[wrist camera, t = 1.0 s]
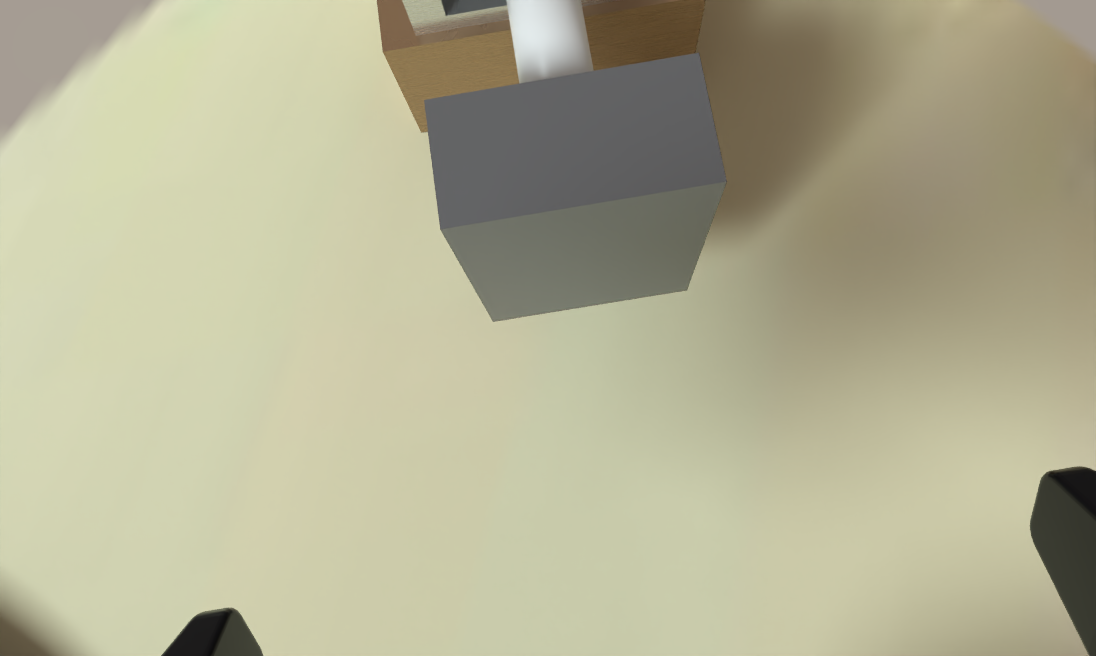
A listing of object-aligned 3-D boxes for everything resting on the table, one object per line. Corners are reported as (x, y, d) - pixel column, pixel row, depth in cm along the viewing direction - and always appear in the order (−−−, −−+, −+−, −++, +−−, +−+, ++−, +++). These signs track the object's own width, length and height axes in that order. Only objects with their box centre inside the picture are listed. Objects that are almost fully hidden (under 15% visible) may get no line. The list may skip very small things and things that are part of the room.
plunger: (686, 290, 21) (726, 181, 14) (493, 321, 21) (440, 229, 14) (632, 15, 23) (644, -199, 16) (454, 45, 23) (391, -153, 16)
